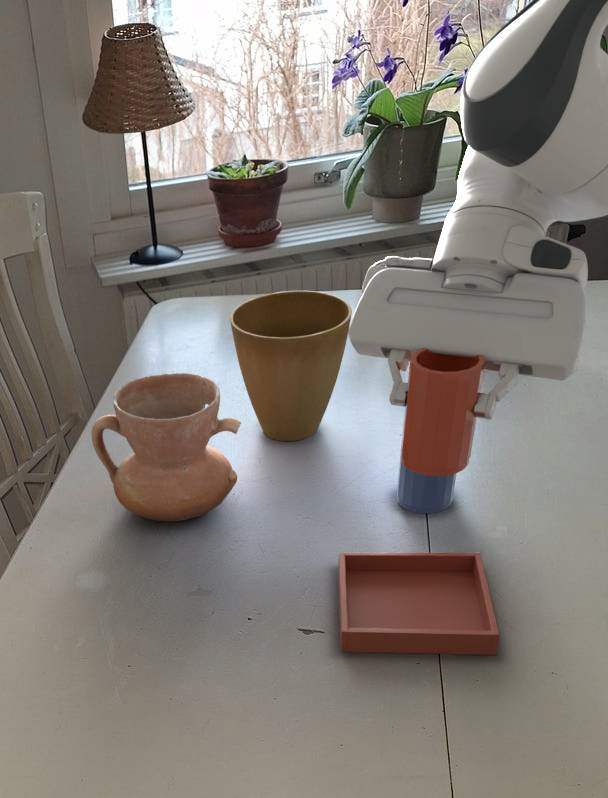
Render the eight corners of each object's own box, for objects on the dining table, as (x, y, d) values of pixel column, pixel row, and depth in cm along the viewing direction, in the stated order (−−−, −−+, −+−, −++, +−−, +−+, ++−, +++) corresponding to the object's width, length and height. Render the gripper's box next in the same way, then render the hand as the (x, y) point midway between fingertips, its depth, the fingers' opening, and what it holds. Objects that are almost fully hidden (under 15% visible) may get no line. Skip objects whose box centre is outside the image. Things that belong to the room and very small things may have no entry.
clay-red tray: (477, 572, 96) (480, 552, 94) (495, 655, 86) (499, 634, 84) (338, 571, 98) (339, 552, 97) (340, 651, 89) (341, 631, 87)
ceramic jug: (254, 475, 115) (252, 368, 106) (230, 539, 105) (225, 426, 96) (119, 467, 121) (106, 364, 112) (83, 527, 110) (65, 419, 101)
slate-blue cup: (448, 485, 109) (459, 407, 103) (454, 513, 104) (466, 434, 98) (395, 485, 110) (402, 409, 104) (398, 513, 106) (406, 435, 99)
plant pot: (237, 405, 131) (234, 293, 121) (344, 403, 128) (350, 287, 118) (229, 457, 120) (225, 338, 109) (346, 455, 117) (353, 333, 107)
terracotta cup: (464, 443, 89) (480, 343, 82) (472, 476, 84) (489, 372, 78) (398, 444, 90) (408, 345, 83) (402, 476, 85) (413, 374, 79)
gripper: (365, 238, 85) (322, 381, 85) (606, 254, 76) (557, 415, 76) (378, 271, 90) (337, 405, 90) (603, 289, 81) (558, 439, 81)
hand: (439, 410), depth 83 cm, fingers closed on terracotta cup, 6 cm apart
